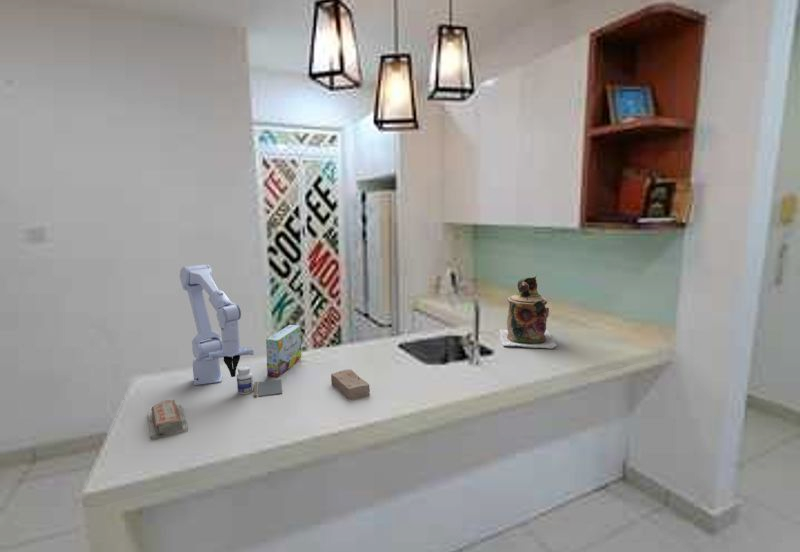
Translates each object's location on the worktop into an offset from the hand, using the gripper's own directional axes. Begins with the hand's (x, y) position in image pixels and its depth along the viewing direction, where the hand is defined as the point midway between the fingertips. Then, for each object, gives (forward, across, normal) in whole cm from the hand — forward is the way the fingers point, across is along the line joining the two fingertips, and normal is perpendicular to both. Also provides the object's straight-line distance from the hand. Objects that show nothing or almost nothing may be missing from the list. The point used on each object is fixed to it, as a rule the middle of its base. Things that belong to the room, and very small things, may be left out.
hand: (233, 375), depth 160 cm
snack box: (+7, +19, +20) cm, 28 cm away
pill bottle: (+7, +4, 0) cm, 8 cm away
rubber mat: (+6, +12, 0) cm, 14 cm away
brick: (+7, +40, -9) cm, 42 cm away
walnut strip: (+6, +7, 0) cm, 10 cm away
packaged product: (+7, -19, -16) cm, 26 cm away
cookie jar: (+7, +131, +21) cm, 133 cm away
